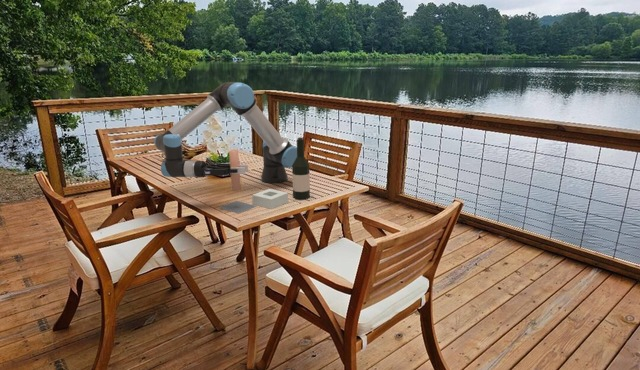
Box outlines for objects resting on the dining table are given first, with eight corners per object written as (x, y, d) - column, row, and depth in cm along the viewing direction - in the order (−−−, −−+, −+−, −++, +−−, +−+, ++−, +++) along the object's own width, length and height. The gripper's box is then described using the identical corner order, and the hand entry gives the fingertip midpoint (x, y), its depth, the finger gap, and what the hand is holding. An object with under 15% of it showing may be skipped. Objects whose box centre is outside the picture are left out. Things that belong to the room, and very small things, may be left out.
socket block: (252, 204, 199) (252, 194, 198) (269, 198, 208) (269, 188, 207) (271, 209, 192) (271, 199, 191) (288, 202, 202) (288, 192, 200)
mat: (217, 208, 195) (217, 207, 194) (236, 201, 204) (236, 200, 204) (238, 214, 187) (238, 213, 187) (257, 207, 196) (257, 206, 196)
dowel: (230, 189, 192) (227, 151, 187) (236, 187, 196) (233, 149, 190) (236, 191, 190) (233, 152, 185) (242, 189, 193) (240, 150, 188)
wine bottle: (292, 195, 213) (291, 136, 205) (309, 194, 214) (308, 136, 205) (293, 200, 205) (291, 139, 197) (310, 199, 206) (309, 139, 197)
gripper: (203, 172, 201) (251, 172, 199) (189, 182, 185) (242, 182, 183) (201, 156, 199) (250, 156, 197) (188, 165, 182) (241, 165, 180)
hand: (246, 169), depth 190 cm, fingers closed on dowel, 4 cm apart
